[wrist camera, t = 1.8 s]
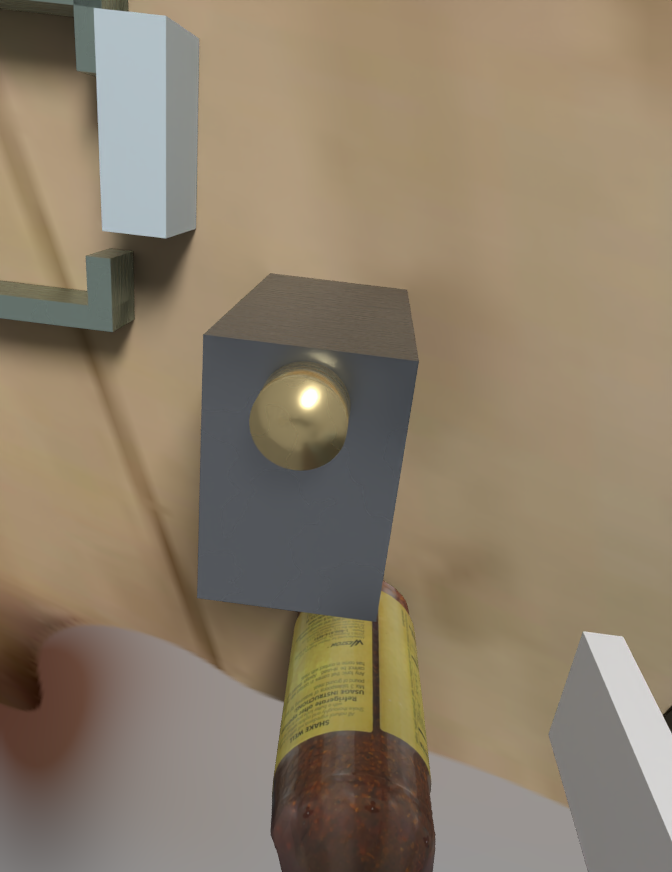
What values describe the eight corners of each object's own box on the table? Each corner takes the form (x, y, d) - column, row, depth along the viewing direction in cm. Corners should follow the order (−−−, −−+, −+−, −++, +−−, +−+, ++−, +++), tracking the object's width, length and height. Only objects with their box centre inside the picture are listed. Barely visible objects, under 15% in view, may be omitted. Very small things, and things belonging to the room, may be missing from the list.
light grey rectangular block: (196, 228, 27) (165, 238, 23) (140, 222, 27) (102, 230, 24) (199, 38, 24) (165, 16, 21) (137, 31, 24) (93, 7, 21)
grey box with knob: (379, 473, 31) (375, 656, 20) (258, 458, 31) (183, 630, 20) (406, 289, 28) (421, 379, 16) (270, 273, 28) (186, 350, 16)
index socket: (134, 319, 29) (112, 332, 27) (-70, 293, 29) (-109, 304, 27) (127, -8, 24) (100, -27, 22) (-118, -35, 24) (-171, -56, 22)
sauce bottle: (283, 636, 35) (175, 1136, 17) (321, 548, 33) (241, 1021, 15) (392, 673, 36) (400, 1198, 18) (438, 589, 33) (500, 1097, 15)
